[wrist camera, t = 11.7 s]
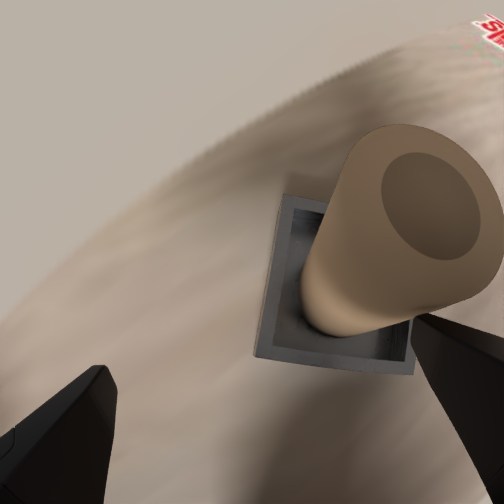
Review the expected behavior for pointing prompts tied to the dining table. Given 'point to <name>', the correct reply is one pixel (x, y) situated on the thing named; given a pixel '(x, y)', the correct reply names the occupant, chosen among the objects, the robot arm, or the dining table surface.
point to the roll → (401, 234)
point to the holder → (292, 322)
